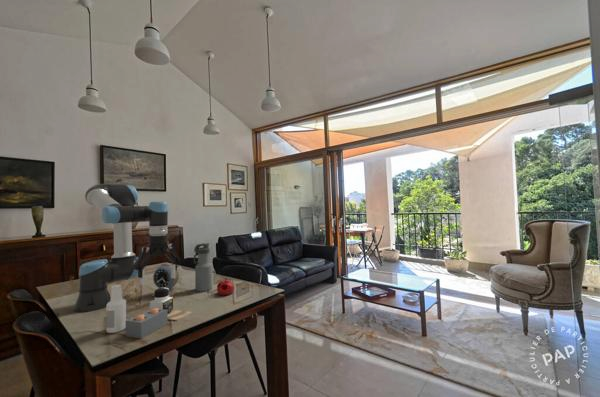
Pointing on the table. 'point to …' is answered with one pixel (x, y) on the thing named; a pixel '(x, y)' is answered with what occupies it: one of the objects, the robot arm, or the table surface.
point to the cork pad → (177, 315)
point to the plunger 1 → (139, 317)
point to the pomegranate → (225, 287)
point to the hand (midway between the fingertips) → (158, 281)
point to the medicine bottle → (162, 300)
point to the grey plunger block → (146, 324)
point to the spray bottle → (116, 311)
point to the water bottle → (203, 268)
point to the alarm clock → (166, 278)
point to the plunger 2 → (154, 311)
